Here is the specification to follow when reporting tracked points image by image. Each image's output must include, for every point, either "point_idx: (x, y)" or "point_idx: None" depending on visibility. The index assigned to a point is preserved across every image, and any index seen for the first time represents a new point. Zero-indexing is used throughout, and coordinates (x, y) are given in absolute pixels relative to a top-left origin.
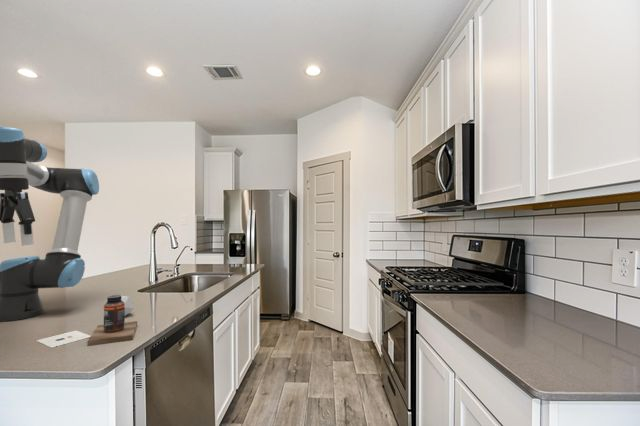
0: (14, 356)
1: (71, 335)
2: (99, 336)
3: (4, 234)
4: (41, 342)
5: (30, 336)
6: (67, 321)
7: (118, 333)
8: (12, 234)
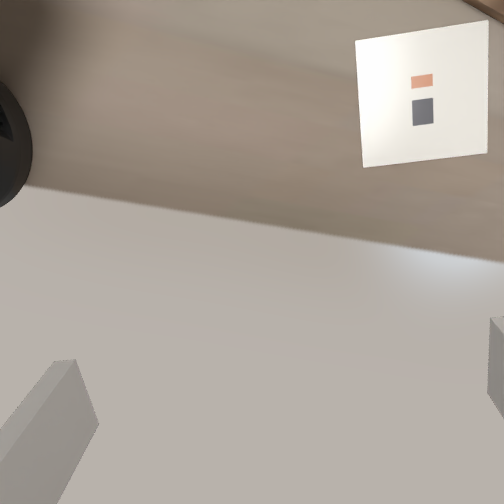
0: (468, 238)
1: (407, 71)
2: None
3: (60, 493)
4: (401, 161)
5: (293, 168)
6: (187, 27)
7: None
8: (40, 432)
